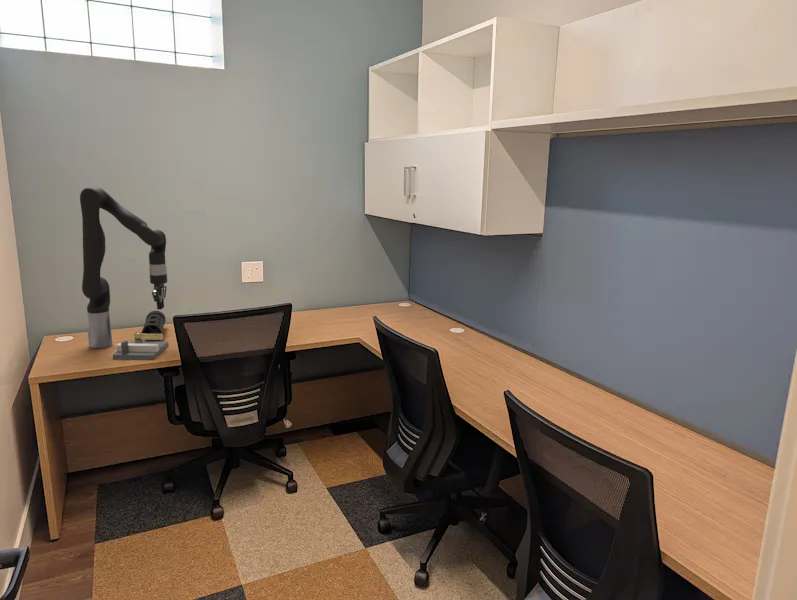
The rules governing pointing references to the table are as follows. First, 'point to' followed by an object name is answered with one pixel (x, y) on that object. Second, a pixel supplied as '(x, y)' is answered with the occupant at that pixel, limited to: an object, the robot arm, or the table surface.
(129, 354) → the lock board
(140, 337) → the swing bar
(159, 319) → the muzzle brake
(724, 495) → the table surface
